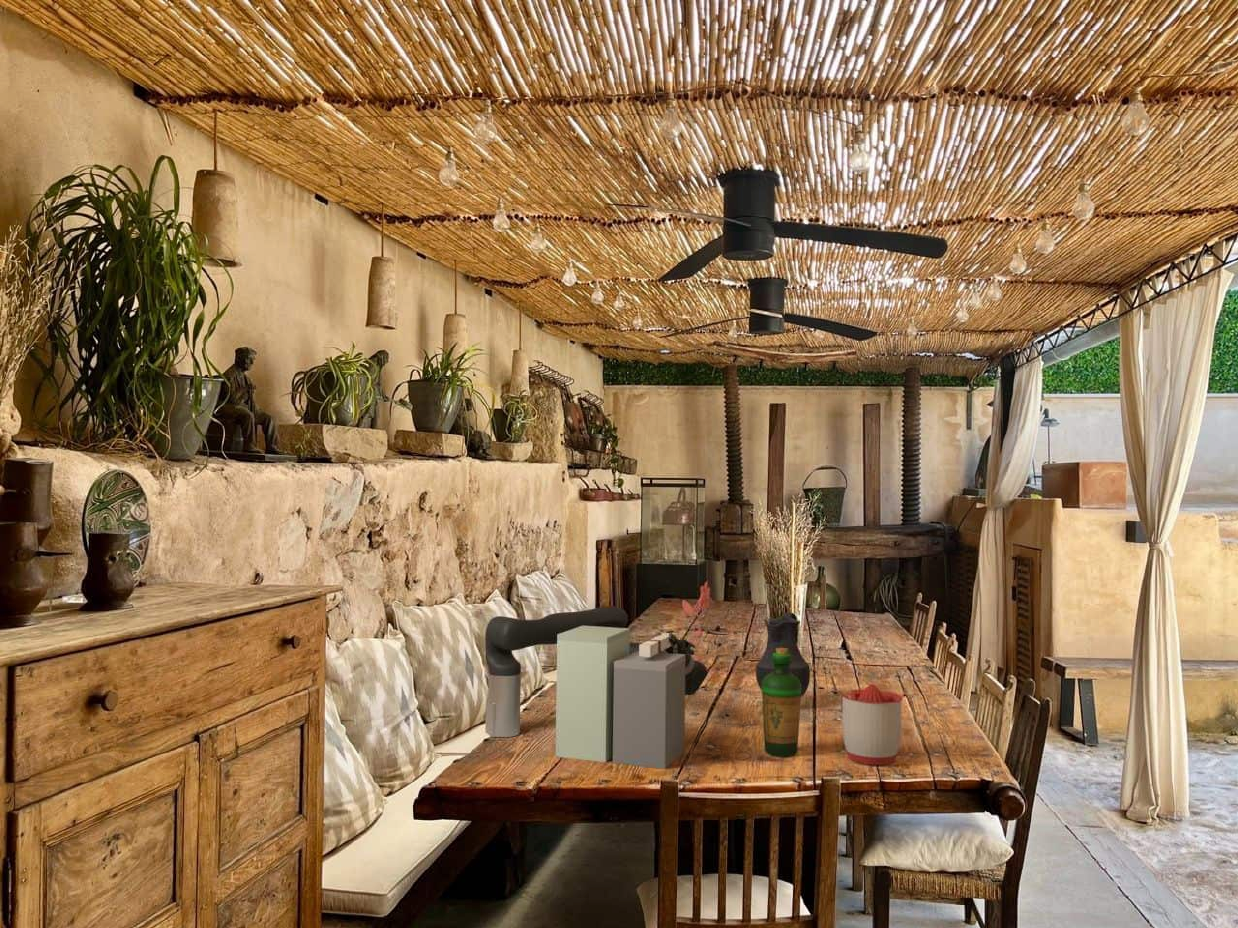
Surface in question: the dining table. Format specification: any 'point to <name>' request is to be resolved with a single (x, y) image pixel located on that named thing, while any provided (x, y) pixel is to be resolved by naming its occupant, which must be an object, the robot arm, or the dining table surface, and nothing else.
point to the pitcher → (783, 636)
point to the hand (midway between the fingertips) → (664, 636)
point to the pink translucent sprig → (688, 609)
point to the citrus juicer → (871, 725)
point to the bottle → (781, 707)
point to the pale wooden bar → (654, 645)
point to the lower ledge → (649, 709)
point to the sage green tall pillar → (587, 690)
